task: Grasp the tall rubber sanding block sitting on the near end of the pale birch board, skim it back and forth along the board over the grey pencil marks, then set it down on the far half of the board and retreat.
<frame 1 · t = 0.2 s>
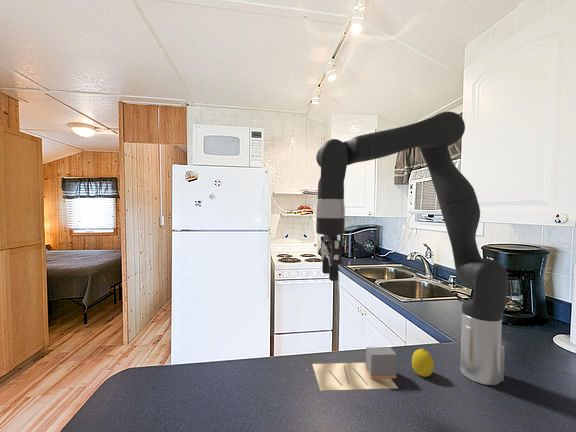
hand: (329, 276, 74), 28 cm above the worktop, fingers open, 8 cm apart
board: (352, 379, 75), on the worktop
lemon: (422, 378, 76), on the worktop
sanding block: (380, 374, 75), point 1 cm above the worktop, touching board
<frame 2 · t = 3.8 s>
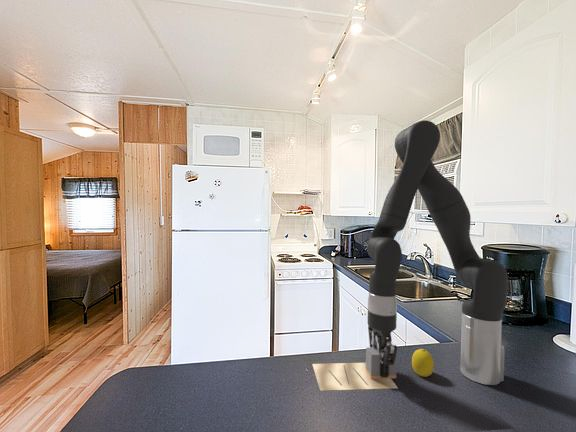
hand: (380, 371, 75), 2 cm above the worktop, fingers closed on sanding block, 4 cm apart
sanding block: (380, 374, 75), point 1 cm above the worktop, touching board, gripper
everything else where it was.
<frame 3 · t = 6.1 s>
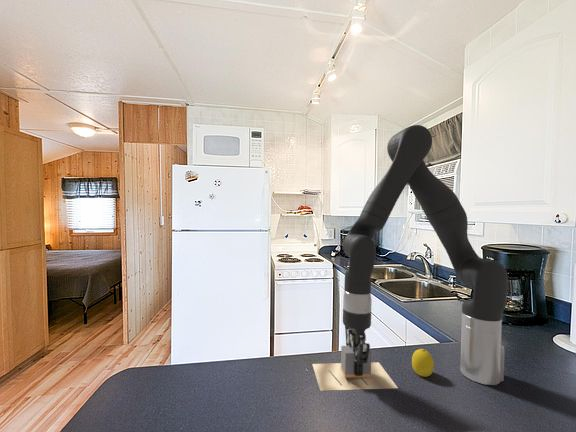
hand: (355, 369, 75), 3 cm above the worktop, fingers closed on sanding block, 4 cm apart
sanding block: (355, 372, 75), point 2 cm above the worktop, touching gripper
everything else where it was.
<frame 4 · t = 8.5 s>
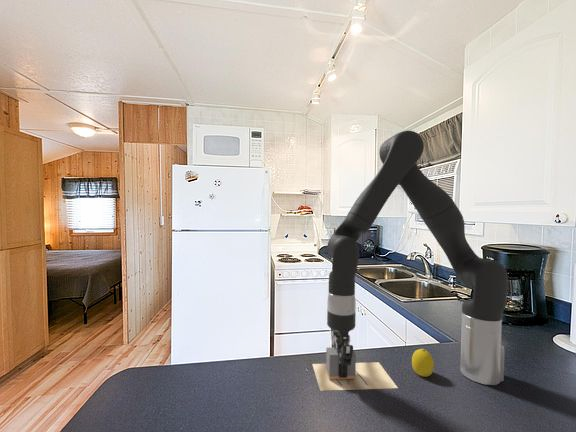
hand: (340, 371, 74), 2 cm above the worktop, fingers closed on sanding block, 4 cm apart
sanding block: (340, 374, 74), point 1 cm above the worktop, touching gripper
everything else where it was.
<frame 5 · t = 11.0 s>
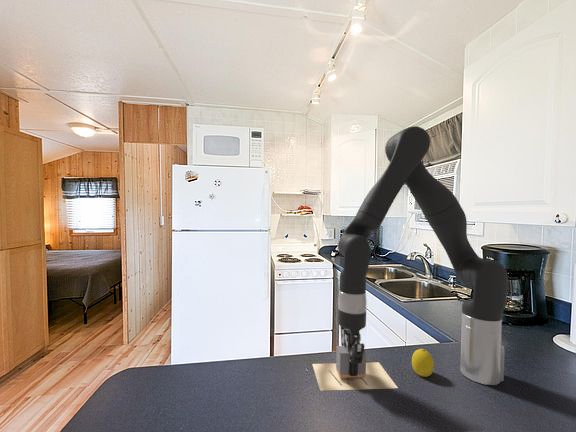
hand: (350, 369, 75), 3 cm above the worktop, fingers closed on sanding block, 4 cm apart
sanding block: (350, 373, 75), point 2 cm above the worktop, touching gripper
everything else where it was.
when the fingers open (2 cm above the worktop, at t = 13.4 s): sanding block stays where it is, resting on board.
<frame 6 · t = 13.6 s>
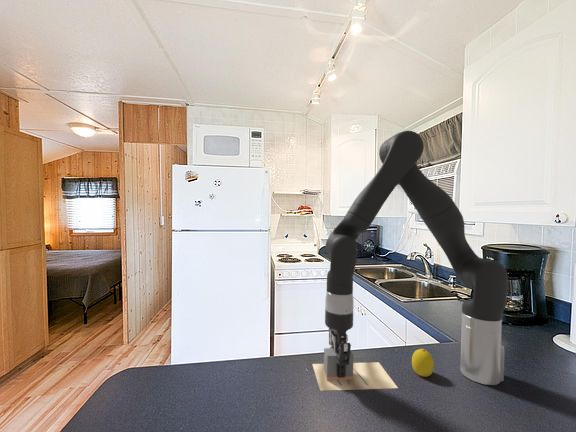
hand: (337, 369, 74), 3 cm above the worktop, fingers open, 5 cm apart
sanding block: (337, 375, 74), point 1 cm above the worktop, touching board
everything else where it was.
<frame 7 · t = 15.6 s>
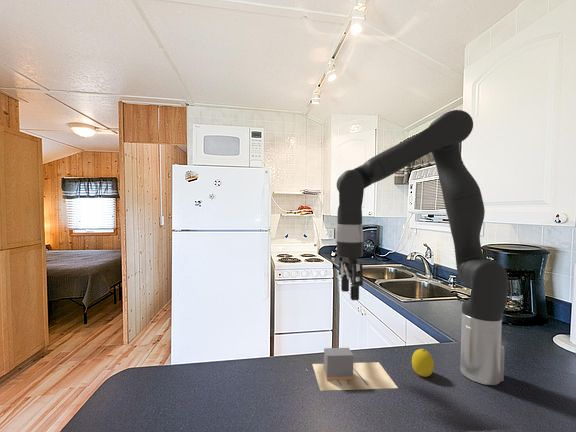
hand: (349, 295, 80), 21 cm above the worktop, fingers open, 8 cm apart
nothing on the worktop moved.
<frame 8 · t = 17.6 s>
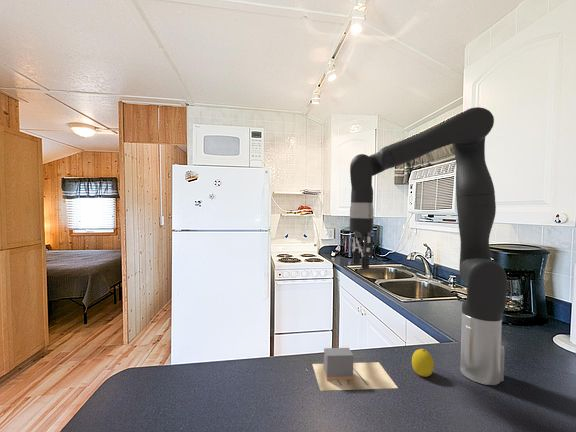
hand: (360, 266, 90), 28 cm above the worktop, fingers open, 8 cm apart
nothing on the worktop moved.
at the end: sanding block inside the target area on the board (3.8 cm from its centre), point 1.2 cm above the board's base; sanding block moved 12.0 cm from its start; the gripper is holding nothing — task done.
